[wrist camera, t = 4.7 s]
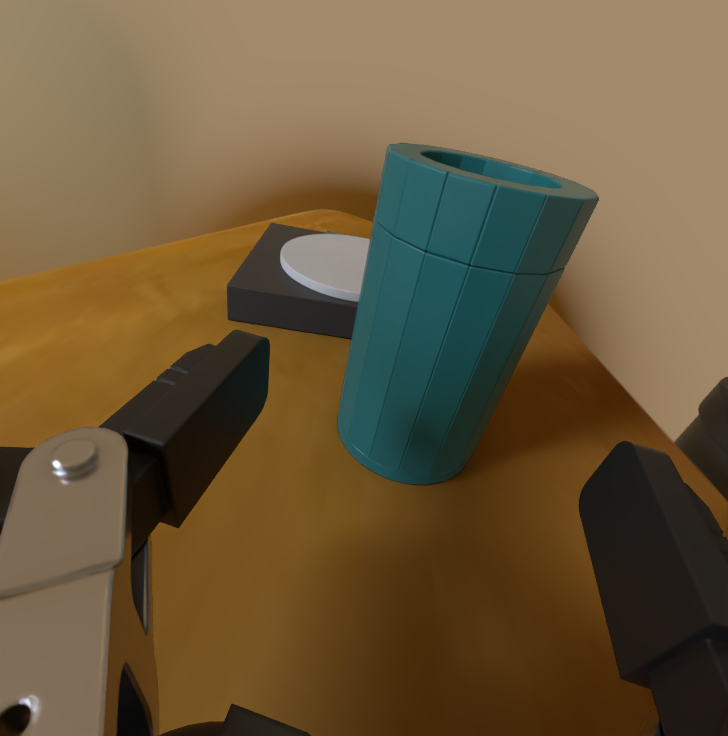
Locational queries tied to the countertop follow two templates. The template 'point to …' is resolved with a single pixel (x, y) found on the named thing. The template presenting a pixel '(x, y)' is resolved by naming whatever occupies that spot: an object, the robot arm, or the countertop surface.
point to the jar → (449, 303)
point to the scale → (300, 281)
